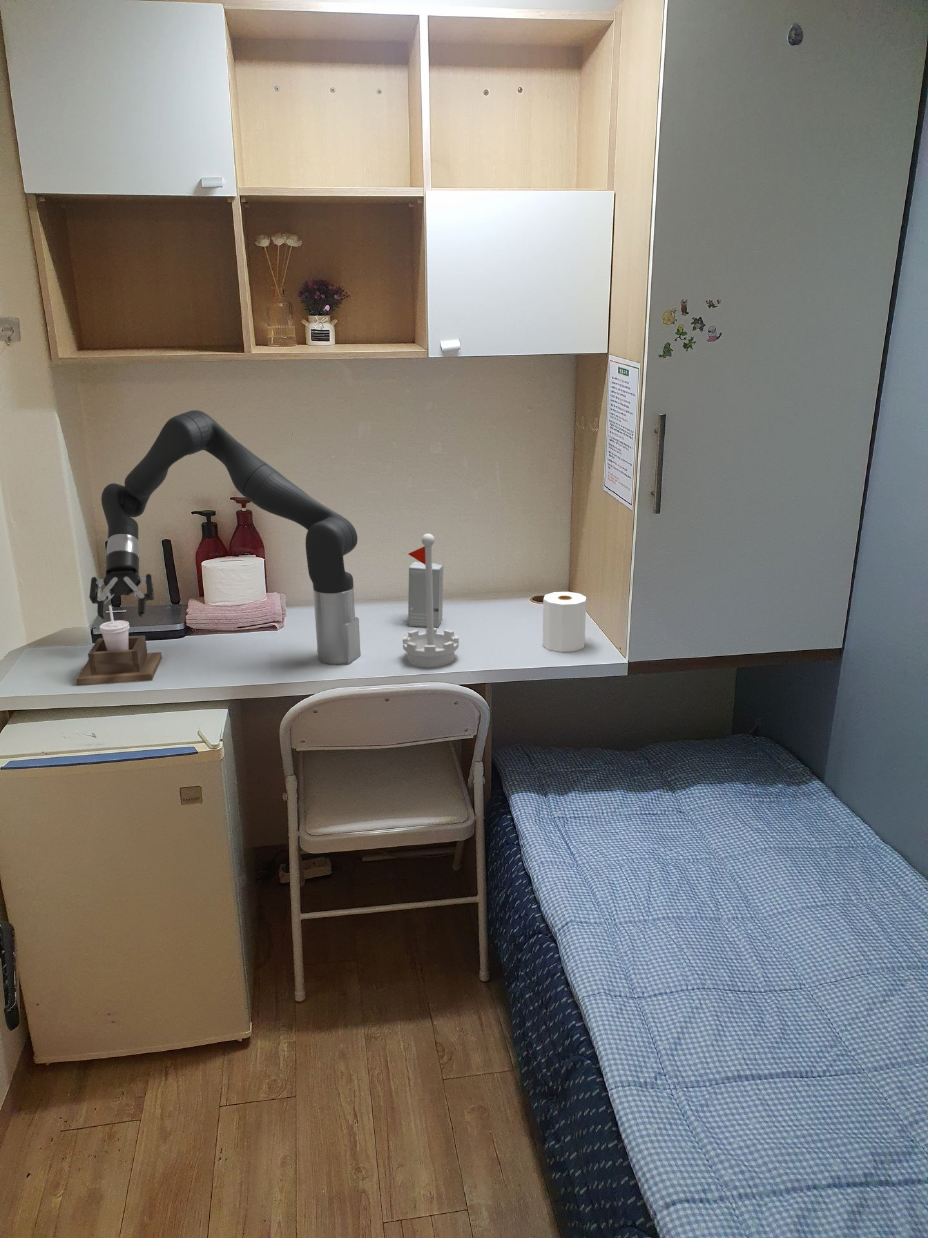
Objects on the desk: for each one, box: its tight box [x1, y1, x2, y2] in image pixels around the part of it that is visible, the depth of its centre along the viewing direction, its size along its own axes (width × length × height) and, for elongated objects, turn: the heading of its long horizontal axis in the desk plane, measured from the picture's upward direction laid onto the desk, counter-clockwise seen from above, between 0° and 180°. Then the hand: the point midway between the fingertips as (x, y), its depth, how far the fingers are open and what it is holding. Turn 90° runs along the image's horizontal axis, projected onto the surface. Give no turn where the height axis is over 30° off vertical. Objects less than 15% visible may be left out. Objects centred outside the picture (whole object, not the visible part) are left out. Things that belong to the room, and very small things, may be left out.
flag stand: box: [402, 533, 460, 668], centre depth 208 cm, size 13×13×30 cm
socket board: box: [75, 635, 163, 686], centre depth 206 cm, size 16×14×6 cm
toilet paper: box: [542, 591, 587, 653], centre depth 218 cm, size 10×10×12 cm
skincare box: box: [407, 561, 444, 628], centre depth 234 cm, size 8×7×16 cm
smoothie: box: [99, 605, 131, 651], centre depth 205 cm, size 6×6×14 cm
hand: (121, 616), depth 214 cm, fingers open, 8 cm apart
